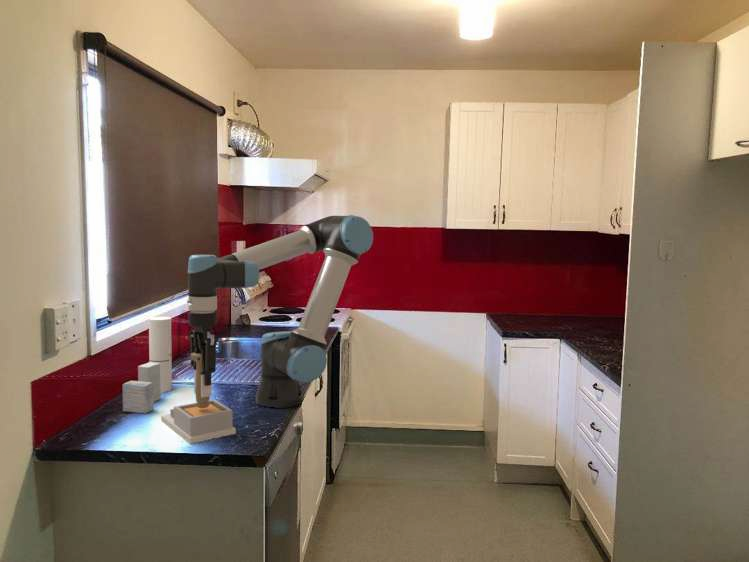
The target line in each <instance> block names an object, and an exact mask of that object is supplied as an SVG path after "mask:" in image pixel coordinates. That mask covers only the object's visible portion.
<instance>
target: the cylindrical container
mask: <svg viewBox="0 0 749 562" xmlns="http://www.w3.org/2000/svg"><path fill="white" fill-rule="evenodd" d="M148 351H149V352H148V354H149V355H148V356H149V357H148V358H149V361H148V363H149V362H153V363H160V380H161V392H164V393H167V392H166V391H168V392H171V391H172V390H171V389H172V388H173V382H172V378H173V376H172V375H173V373H172V370H173V369H172V368H173V366H172V365H173V364H172V362H173V361H172V357H173V356H172V317H170V316H151V317H149V318H148ZM170 390H171V391H170Z"/></svg>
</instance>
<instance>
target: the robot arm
mask: <svg viewBox="0 0 749 562" xmlns="http://www.w3.org/2000/svg"><path fill="white" fill-rule="evenodd" d="M373 241H374V231H373V230H372V227H371V224H370V223H369V222H368V221H367V220H366V219H365V218H364V217H362V216H358V215H354V214H353V215H351V214H350V215H330V216H329V215H328V216H325V217H323V218H320V219H317V220H315V221H313V222H310V223H307V224H305V225H302V226H300V228H299V230H296V231H294V232H291V233H288V234H285V235H282V236H279V237H275V238H274V239H271V240H267V241H265V242H262V243H260V244H257V245H253V246H251V247H247V248H245V249H242V250H239V251H236V252H234V253H231V254H226V255H224V256H221V257H217V256H216V255H215V254H191V255H190V256H189V258H188V263H187V265H188V266H187V282H188V286H187V287H188V299H187V300H186V303H187V304H188V310H189V311H188V313H187V314H188V315H187V316H188V318H187V320H188V325H189V326H190V327H191V328H193V330H190V331H189V332H188V334H189V340H190V341H189V342H190V344H189V345H190V346H189V347H190V348H189V349H190V355H191V354H192V353H201V356H202V371H203V372H200V375H201V397H202V398H203V397H209V396H210V397H212V394H213V393H212V391H213V390H212V380H213V379H212V374H213V373H216V370H217V369H216V367H217V366H216V365H217V363H216V362H217V361H216V360H217V342H218V339H217V337H215V336H213V331H212V327H215V326H216V325H217V323H218V313H217V310H218V289H219V290H222V289H247V288H254V287H256V286H257V285H258V283H259V280H260V270H264V269H266V268H268V267H271V266H274V265H277V264H279V263H282V262H284V261H287V260H289V259H292V258H294V257H295V258H296V257H298V256H300V255H304V254H306V253H308V254H310V255H311V254H312V255H313V254H315V253H318V252H323V253H324V256H325V257H324V260H323V263H322V265H321V268H320V270H319V273H318V276H317V278H316V281H315V282H314V285H313V289H312V291H311V294H310V296H309V298H308V302H307V304H306V307H305V309H304V312H303V314H302V317H301V320H300V322H299V325H298V327H297V328H295V329H293V330H290V331H289V330H288V331H284V330H283V331H272V332H268V333H267V332H266V333H264V334H263V335H262V337H261V344H260V346H261V348H260V349H261V352H260V353H261V356H260V357H261V367H260V369H261V371H260V372H261V373H260V375H261V378H260V382H259V384H258V387H257V391H256V393H255V403H256V405H258V404H259V405H258V406H260V405H261V406H260V407H263V406H266V407H265V408H269V407H275V408H274V409H280V408H281V409H283V408H284V409H285V408H291V407H295V406H298V405H300V404H301V403H302V402H303V392H302V388H301V386H300V382H301V383H310V382H313V381H315V380H317V379H318V378H320V377H321V375H323V373H324V372H325V370H326V367H327V364H328V360H327V359H328V358H327V354H326V352H325V351H326V347H327V344H328V343H327V341H326V338H325V336H326V333H327V332H328V331H327V330H328V328H329V325H330V323H331V320H332V318H333V315H334V313H335V309H336V307H337V305H338V302H339V299H340V296H341V294H342V291H343V289H344V287H345V286H344V285H345V283H346V281H347V278H348V275H349V273H350V271H351V267H352V266H354V265H356V264H358V262H359V259H360V257H361V255H362V254H364V253H366V252H368V251H369V249H371V247H372V245H373ZM190 366H191V367H192V366H193V367H192V369H193V370H194V372H193V373H194V377H193V378H194V379H193V381H194V385H193V386H194V391H193V392H194V394H195V383H196V362H195V361H194V360H192V359H191V358H190Z"/></svg>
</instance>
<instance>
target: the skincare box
mask: <svg viewBox="0 0 749 562" xmlns="http://www.w3.org/2000/svg"><path fill="white" fill-rule="evenodd" d="M137 372H138V373H137V378H138V379H137V381H142V382H152V383H153V401H154V402H156V401H158V400H160V398H162V393H161V380H160V363H153V362H149V361H148V362H147V363H144V364H140V365H138V366H137Z"/></svg>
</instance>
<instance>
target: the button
mask: <svg viewBox="0 0 749 562" xmlns="http://www.w3.org/2000/svg"><path fill="white" fill-rule="evenodd" d="M184 411H185V412H187V413H188V414H189V415H191V416H192V417H193V416H198V415H204V414H209V413H214V412H219V411H221V410H220V409H218V408H216V407H215V406H213V405H212V404H209V406H208V407H207V408H199V407H192V408H186V409H184Z"/></svg>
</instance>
